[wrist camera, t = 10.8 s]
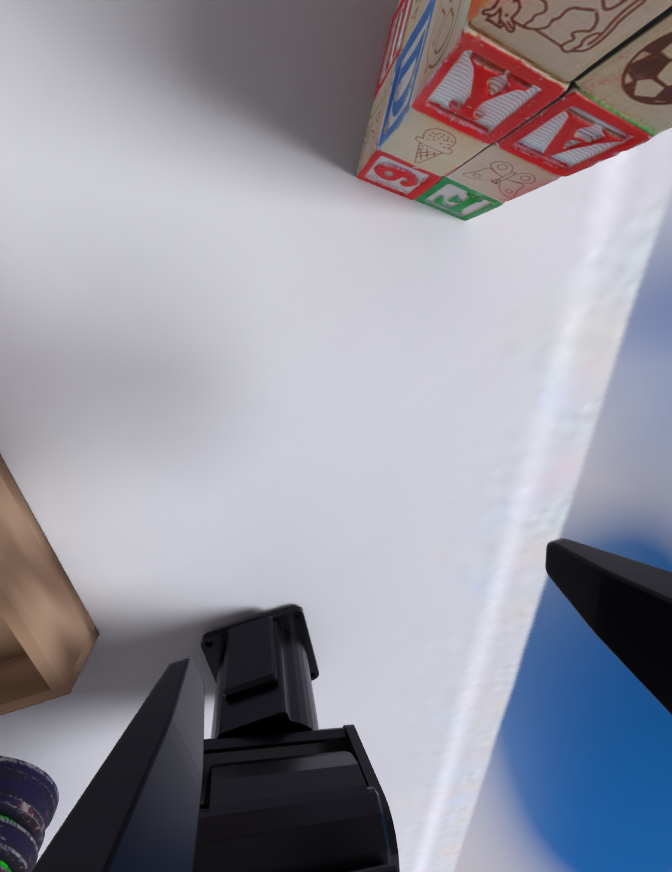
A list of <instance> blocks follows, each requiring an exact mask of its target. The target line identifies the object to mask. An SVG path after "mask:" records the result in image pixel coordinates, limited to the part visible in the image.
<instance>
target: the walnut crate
mask: <svg viewBox="0 0 672 872" xmlns="http://www.w3.org/2000/svg"><path fill="white" fill-rule="evenodd" d="M98 635H99V632H98V630H97V629H96V627H95V625H94V623H93V621H92V620H91V618H90V616H89V614H88V612H87V611H86V609H85V607H84V605H83V603H82V601H81V600H80V598H79V596H78V594H77V592H76V591H75V589H74V587H73V585H72V583H71V581H70V580H69V578H68V576H67V574H66V572H65V571H64V569H63V567H62V565H61V563H60V562H59V560H58V558H57V556H56V554H55V552H54V551H53V549H52V547H51V545H50V543H49V542H48V540H47V538H46V536H45V534H44V533H43V531H42V529H41V527H40V525H39V523H38V522H37V520H36V518H35V516H34V514H33V513H32V511H31V509H30V507H29V505H28V504H27V502H26V500H25V498H24V496H23V494H22V493H21V491H20V489H19V487H18V485H17V484H16V482H15V480H14V478H13V476H12V474H11V473H10V471H9V469H8V467H7V465H6V464H5V462H4V460H3V458H2V456H1V455H0V715H3V714H6V713H10V712H13V711H16V710H19V709H22V708H25V707H29V706H32V705H35V704H38V703H41V702H45V701H48V700H51V699H54V698H57V697H60V696H64V695H67V694H70V692H71V690H72V688H73V686H74V684H75V682H76V680H77V678H78V676H79V674H80V672H81V670H82V668H83V666H84V664H85V662H86V660H87V658H88V656H89V654H90V652H91V650H92V647H93V645H94V643H95V641H96V639H97V637H98Z"/></svg>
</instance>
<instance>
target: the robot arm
mask: <svg viewBox="0 0 672 872" xmlns="http://www.w3.org/2000/svg"><path fill="white" fill-rule="evenodd" d="M545 567H546V571H547V573H548V575H549V577H550V578H551V579H552V581H553V582H554V583H555V584H556V586H557V587H558V588H559V589H560V591H561V592H562V593H563V594H564V596H565V597H566V598H567V599H568V601H569V602H570V603H571V604H572V606H573V607H574V608H575V609H576V611H577V612H578V613H579V614H580V616H581V617H582V618H583V619H584V621H585V622H586V623H587V624H588V626H589V627H590V628H591V629H592V630H593V632H595V634H596V635H597V636H598V637H599V638H600V639H601V640H602V641H603V643H604V644H605V645H606V646H607V647H608V648H609V649H610V650H611V651H612V652H613V653H614V654H615V655H616V656H617V657H618V658H619V660H620V661H621V662H622V663H623V664H624V665H625V666H626V667H627V668H628V669H629V670H630V671H631V672H632V673H633V674H634V675H635V677H636V678H637V679H638V680H639V681H640V682H641V683H642V684H643V685H644V686H645V687H646V688H647V689H648V690H649V691H650V692H651V694H653V696H654V697H655V698H656V699H657V700H658V701H659V702H660V703H661V704H662V705H663V706H664V707H665V708H666V709H667V711H668V712H670V714H671V715H672V572H670V571H666V570H663V569H660V568H657V567H654V566H650V565H647V564H644V563H641V562H638V561H635V560H632V559H629V558H625V557H622V556H619V555H616V554H613V553H610V552H606V551H603V550H600V549H597V548H593V547H590V546H588V545H584V544H581V543H578V542H575V541H572V540H568V539H565V538H560V539H557V540H554V541H551V542H549V543H548V544H547V548H546V564H545ZM295 614H298V615H295ZM208 641H212V642H208ZM201 648H202V650H203V652H204V655H205V657H206V660H207V662H208V664H209V667H210V669H211V672H212V674H213V676H214V679H215V681H216V693H215V703H214V712H213V722H212V732H211V739H204V696H205V690H204V683H203V679H202V677H201V675H200V672H199V670H198V668H197V665H196V663H195V661H194V659H193V658H192V657H191V656H187V657H184V658H181V659H178V660H175V661H173V662H171V663H170V664H169V666H168V667H167V669H166V670H165V672H164V673H163V675H162V676H161V678H160V679H159V681H158V682H157V684H156V685H155V687H154V688H153V690H152V691H151V693H150V694H149V696H148V697H147V699H146V700H145V702H144V703H143V705H142V706H141V708H140V709H139V711H138V712H137V714H136V715H135V717H134V718H133V720H132V721H131V723H130V724H129V726H128V727H127V729H126V730H125V732H124V733H123V735H122V736H121V738H120V739H119V741H118V742H117V744H116V745H115V747H114V748H113V750H112V751H111V753H110V754H109V756H108V757H107V759H106V760H105V762H104V763H103V764H102V766H101V767H100V769H99V770H98V772H97V773H96V775H95V776H94V778H93V779H92V781H91V782H90V784H89V785H88V787H87V788H86V790H85V791H84V793H83V794H82V796H81V797H80V799H79V800H78V802H77V803H76V805H75V806H74V808H73V809H72V811H71V812H70V814H69V815H68V817H67V818H66V820H65V821H64V823H63V824H62V826H61V827H60V829H59V830H58V832H57V833H56V835H55V836H54V838H53V839H52V841H51V842H50V844H49V845H48V847H47V848H46V850H45V851H44V853H43V854H42V856H41V857H40V859H39V860H38V862H37V863H36V865H35V866H34V868H33V869H32V871H31V872H400V870H399V856H398V848H397V841H396V834H395V829H394V824H393V820H392V816H391V813H390V809H389V806H388V803H387V800H386V798H385V795H384V793H383V790H382V788H381V786H380V784H379V781H378V779H377V777H376V774H375V772H374V770H373V768H372V765H371V763H370V761H369V758H368V756H367V754H366V752H365V749H364V747H363V745H362V742H361V740H360V738H359V736H358V733H357V731H356V729H355V726H354V725H344V726H343V728H331V729H319V727H318V721H317V714H316V708H315V702H314V696H313V689H312V683H311V681H312V680H314V679H316V678H317V677H318V675H319V671H318V666H317V662H316V659H315V655H314V651H313V647H312V643H311V639H310V636H309V632H308V628H307V624H306V620H305V616H304V612H303V609H302V608H301V607H299V606H294V607H291V608H288V609H284V610H281V611H278V612H275V613H271V614H268V615H265V616H261V617H258V618H255V619H252V620H248V621H245V622H242V623H239V624H235V625H232V626H229V627H226V628H222V629H219V630H216V631H213V632H209V633H207V634H205V635H204V636H203V637H202V641H201Z"/></svg>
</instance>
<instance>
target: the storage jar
mask: <svg viewBox="0 0 672 872" xmlns="http://www.w3.org/2000/svg"><path fill="white" fill-rule="evenodd" d="M58 801H59V793H58V789H57V786H56V784H55V783H54V781H53V780H52V778H51V777H50V776H49V775H48V774H47V773H45V772H44V771H42V770H41V769H39V768H38V767H36V766H34V765H32V764H29V763H27V762H24V761H21V760H17V759H13V758H8V757H3V756H0V872H31V871H32V869H33V868H34V866H35V865H36V862H37V858H38V852H39V850H40V848H41V845H42V843H43V840H44V836H45V830H46V828H47V827H48V826H49V824H50V822H51V820H52V818H53V816H54V813H55V811H56V808H57V805H58Z"/></svg>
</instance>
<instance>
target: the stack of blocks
mask: <svg viewBox="0 0 672 872" xmlns="http://www.w3.org/2000/svg"><path fill="white" fill-rule="evenodd" d="M671 127H672V0H399V2H398V6H397V11H396V13H395V15H394V17H393V21H392V25H391V29H390V33H389V37H388V42H387V46H386V51H385V55H384V59H383V64H382V68H381V72H380V76H379V81H378V85H377V89H376V94H375V98H374V102H373V105H372V108H371V113H370V117H369V121H368V125H367V129H366V134H365V138H364V142H363V147H362V151H361V155H360V159H359V164H358V168H357V178H359V179H361V180H364V181H366V182H369V183H372V184H374V185H376V186H379V187H381V188H384V189H386V190H389V191H391V192H394V193H396V194H399V195H401V196H404V197H406V198H409V199H411V200H417V201H419V202H422V203H424V204H426V205H429V206H431V207H434V208H436V209H438V210H441V211H443V212H446V213H448V214H451V215H453V216H456V217H458V218H460V219H462V220H465V221H466V220H469V219H471V218H474V217H476V216H479V215H481V214H483V213H486V212H488V211H490V210H492V209H494V208H497V207H499V206H501V205H503V204H504V203H505V202H506V201H509V200H512V199H514V198H516V197H519V196H521V195H523V194H526V193H528V192H530V191H533V190H535V189H537V188H539V187H542V186H544V185H546V184H548V183H550V182H552V181H555V180H557V179H558V178H560V177H561V176H569V175H571V174H574V173H576V172H579V171H581V170H583V169H586V168H588V167H591V166H593V165H594V164H596V163H598V162H600V161H603V160H605V159H608V158H611V157H614V156H616V155H618V154H619V153H620V152H621V151H626V150H629V149H631V148H633V147H635V146H638V145H640V144H642V143H645V142H647V141H648V140H650V139H651V138H652V137H654V136H655V135H657V134H659V133H661V132H662V131H664V130H667V129H669V128H671Z"/></svg>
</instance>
